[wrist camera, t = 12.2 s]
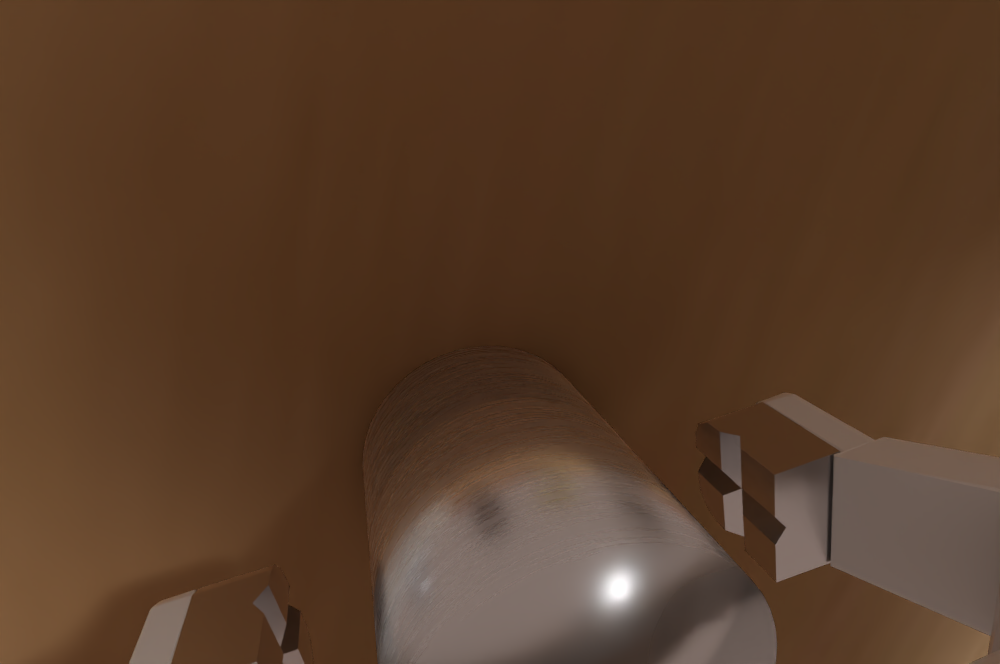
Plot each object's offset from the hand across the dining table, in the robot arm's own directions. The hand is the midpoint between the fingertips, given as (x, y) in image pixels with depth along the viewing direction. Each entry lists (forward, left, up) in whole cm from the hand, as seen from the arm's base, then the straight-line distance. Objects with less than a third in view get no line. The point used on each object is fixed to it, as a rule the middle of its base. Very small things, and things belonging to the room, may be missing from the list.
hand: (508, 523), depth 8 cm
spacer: (0, 0, -2) cm, 2 cm away
